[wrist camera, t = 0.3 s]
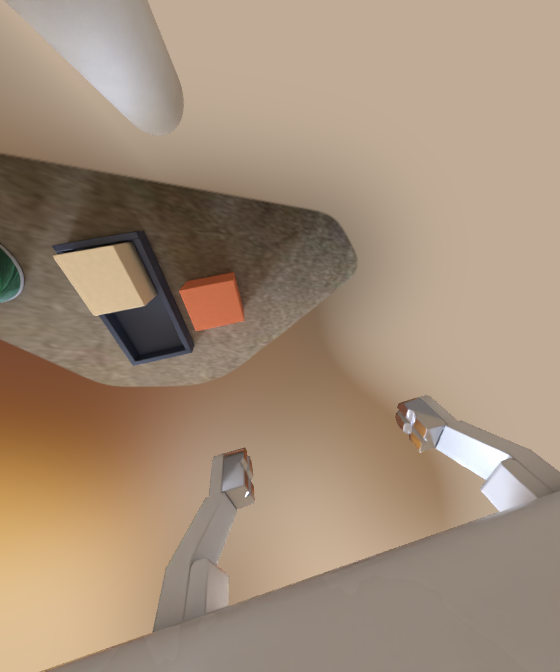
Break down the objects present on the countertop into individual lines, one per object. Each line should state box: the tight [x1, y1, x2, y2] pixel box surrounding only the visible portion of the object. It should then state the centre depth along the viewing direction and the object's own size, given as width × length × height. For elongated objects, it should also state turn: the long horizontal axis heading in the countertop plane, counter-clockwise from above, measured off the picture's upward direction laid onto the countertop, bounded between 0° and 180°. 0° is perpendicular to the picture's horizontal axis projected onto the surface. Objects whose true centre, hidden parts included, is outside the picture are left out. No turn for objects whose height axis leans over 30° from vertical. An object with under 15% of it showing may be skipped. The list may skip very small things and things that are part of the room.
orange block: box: [179, 272, 244, 331], centre depth 24 cm, size 6×5×4 cm
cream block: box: [53, 242, 157, 316], centre depth 21 cm, size 6×5×4 cm
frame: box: [52, 231, 194, 366], centre depth 24 cm, size 15×8×2 cm, turn 8°
